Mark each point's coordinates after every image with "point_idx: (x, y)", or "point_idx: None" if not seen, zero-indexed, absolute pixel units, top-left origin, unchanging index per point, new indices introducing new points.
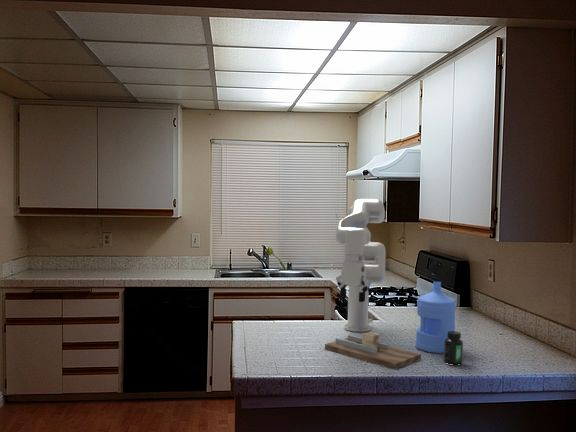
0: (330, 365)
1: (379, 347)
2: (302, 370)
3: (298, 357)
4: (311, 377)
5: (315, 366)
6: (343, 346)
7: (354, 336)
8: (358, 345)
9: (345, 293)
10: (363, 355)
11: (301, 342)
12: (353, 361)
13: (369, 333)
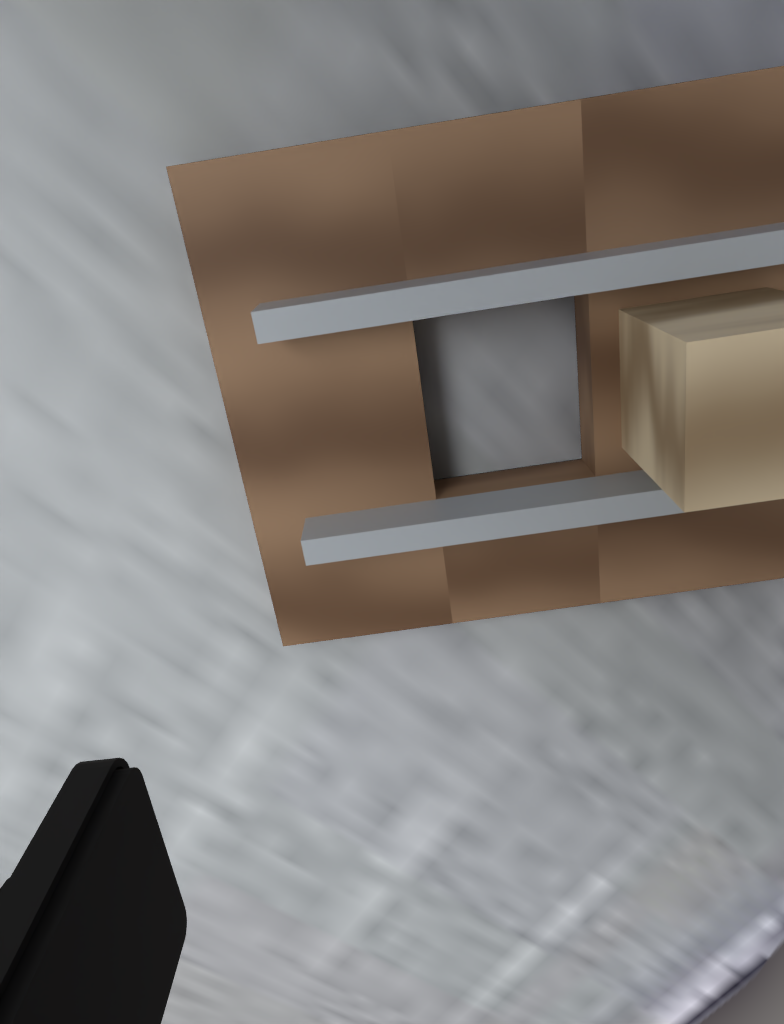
0: (643, 825)
1: (776, 291)
2: (591, 987)
3: (365, 886)
4: (715, 1007)
5: (589, 902)
6: (451, 555)
7: (359, 315)
8: (627, 514)
9: (90, 920)
10: (760, 577)
11: (4, 662)
12: (703, 646)
13: (742, 419)
